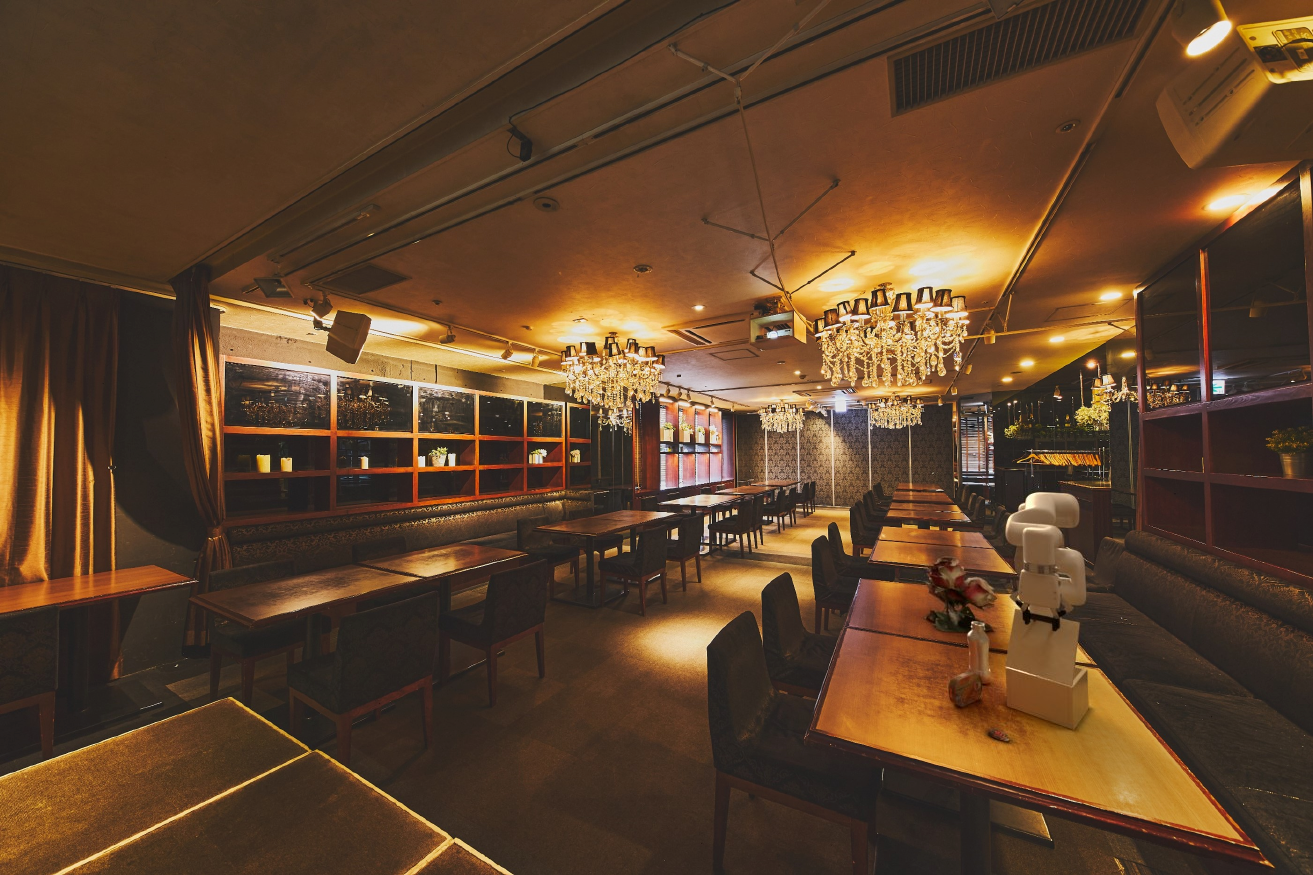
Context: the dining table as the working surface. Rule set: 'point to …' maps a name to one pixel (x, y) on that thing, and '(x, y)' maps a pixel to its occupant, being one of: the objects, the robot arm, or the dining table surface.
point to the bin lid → (1043, 647)
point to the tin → (965, 688)
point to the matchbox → (998, 734)
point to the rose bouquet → (957, 596)
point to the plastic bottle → (979, 652)
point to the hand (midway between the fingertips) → (1041, 626)
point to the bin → (1049, 696)
